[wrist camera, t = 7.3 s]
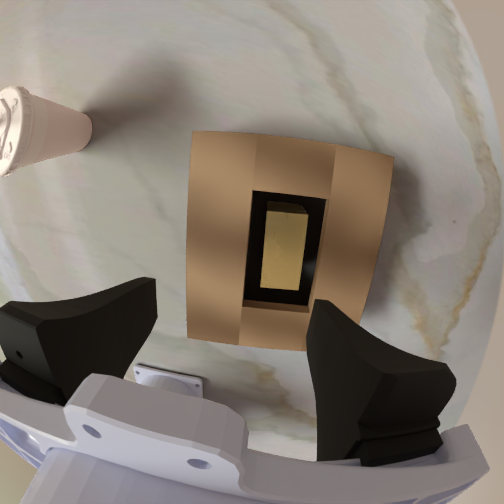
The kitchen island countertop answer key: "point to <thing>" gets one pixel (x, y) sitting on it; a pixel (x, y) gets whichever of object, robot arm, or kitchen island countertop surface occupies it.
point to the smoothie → (37, 129)
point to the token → (283, 245)
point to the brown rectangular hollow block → (238, 225)
